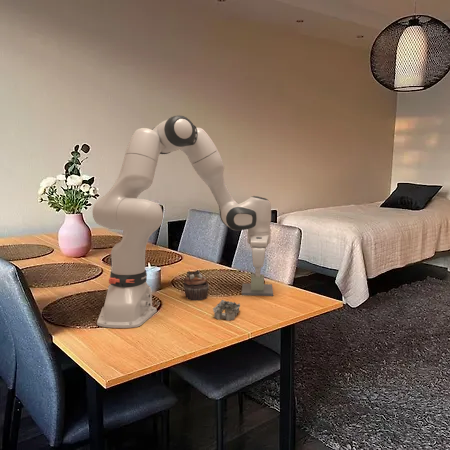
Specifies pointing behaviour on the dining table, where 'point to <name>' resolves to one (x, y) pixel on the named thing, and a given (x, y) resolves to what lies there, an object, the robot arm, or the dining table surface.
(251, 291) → the slate plate
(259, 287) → the cube
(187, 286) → the cupcake
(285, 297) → the dining table surface
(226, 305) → the egg carton
